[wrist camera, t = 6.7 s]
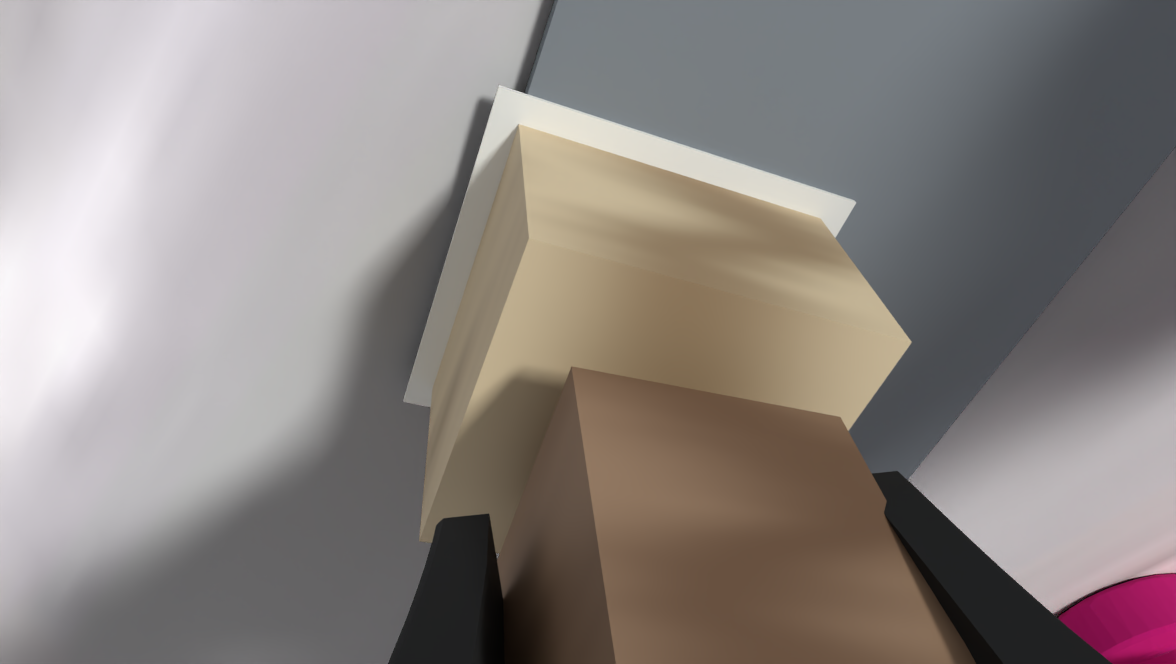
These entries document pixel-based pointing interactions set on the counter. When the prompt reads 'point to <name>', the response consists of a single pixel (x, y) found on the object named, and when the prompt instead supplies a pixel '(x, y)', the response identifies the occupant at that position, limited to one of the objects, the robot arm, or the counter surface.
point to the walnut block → (707, 539)
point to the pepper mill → (1130, 621)
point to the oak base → (636, 312)
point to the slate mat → (868, 153)
